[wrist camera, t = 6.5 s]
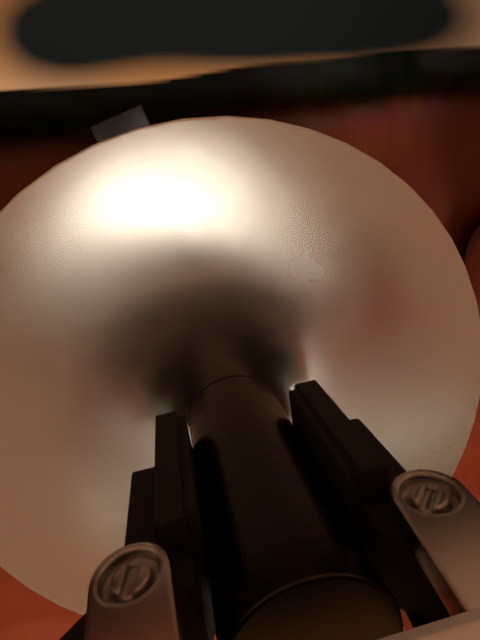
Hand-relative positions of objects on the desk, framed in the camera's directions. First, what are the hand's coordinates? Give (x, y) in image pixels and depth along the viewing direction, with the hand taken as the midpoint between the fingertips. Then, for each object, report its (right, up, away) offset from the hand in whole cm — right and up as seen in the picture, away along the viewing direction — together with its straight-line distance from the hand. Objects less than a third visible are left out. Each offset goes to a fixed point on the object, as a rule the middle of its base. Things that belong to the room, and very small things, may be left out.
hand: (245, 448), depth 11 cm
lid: (0, +1, +2) cm, 2 cm away
